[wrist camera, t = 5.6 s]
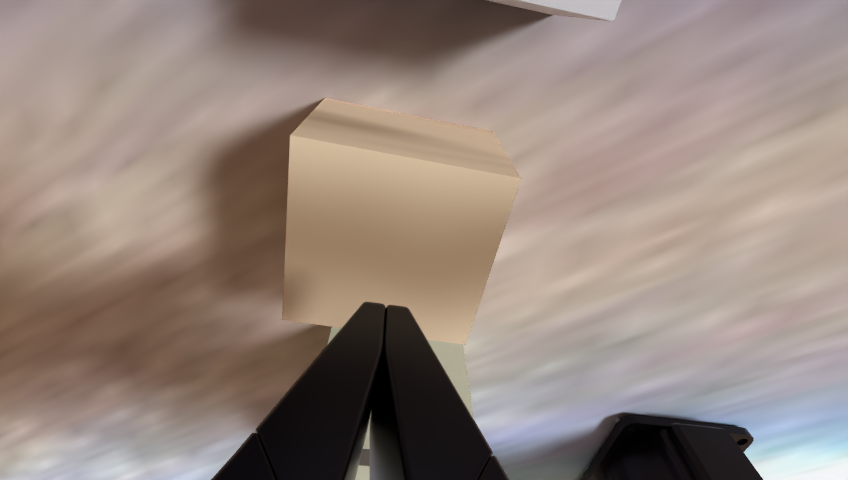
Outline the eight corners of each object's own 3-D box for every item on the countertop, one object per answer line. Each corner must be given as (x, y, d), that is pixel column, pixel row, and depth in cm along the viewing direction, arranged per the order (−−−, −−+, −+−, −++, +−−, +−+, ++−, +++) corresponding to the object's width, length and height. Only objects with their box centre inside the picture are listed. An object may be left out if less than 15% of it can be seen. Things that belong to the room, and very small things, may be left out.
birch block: (453, 265, 15) (465, 345, 12) (314, 243, 14) (282, 319, 11) (491, 129, 13) (521, 178, 9) (325, 96, 12) (290, 135, 9)
